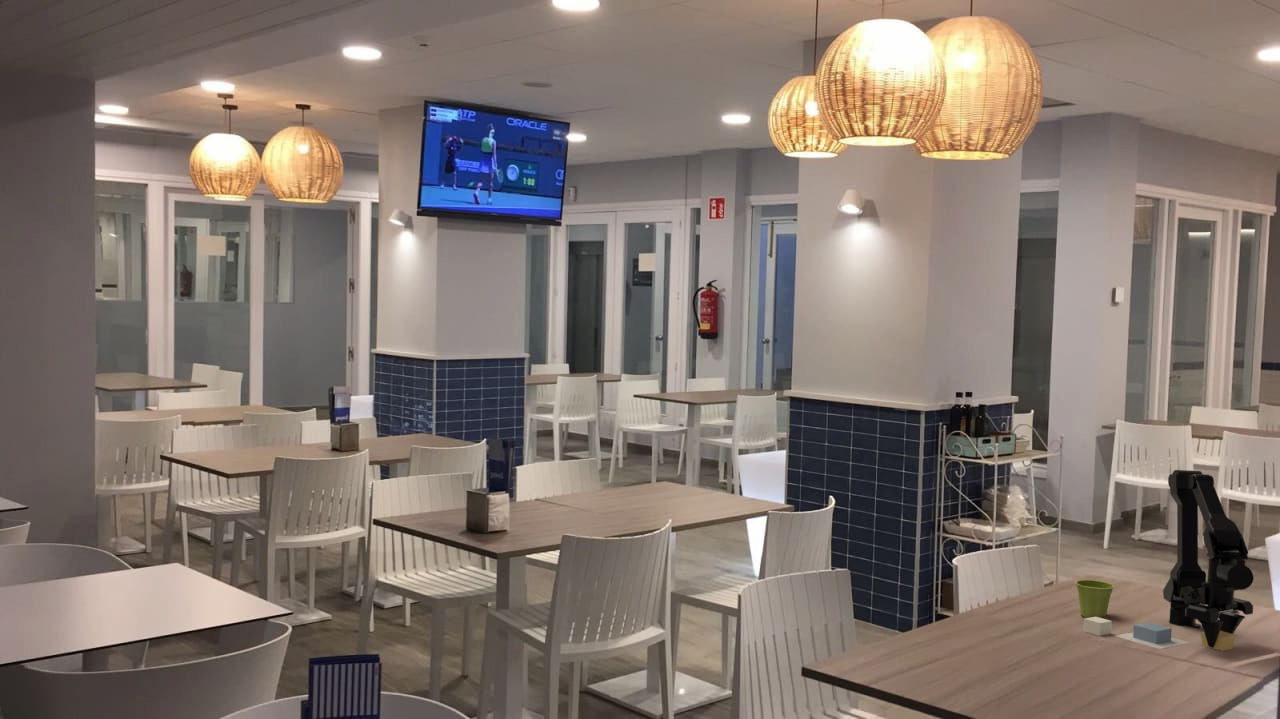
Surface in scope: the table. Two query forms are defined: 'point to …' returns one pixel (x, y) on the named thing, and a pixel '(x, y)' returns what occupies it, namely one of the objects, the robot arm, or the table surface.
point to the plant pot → (1094, 597)
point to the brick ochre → (1220, 641)
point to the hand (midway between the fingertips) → (1217, 645)
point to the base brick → (1152, 633)
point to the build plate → (1160, 645)
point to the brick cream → (1097, 626)
